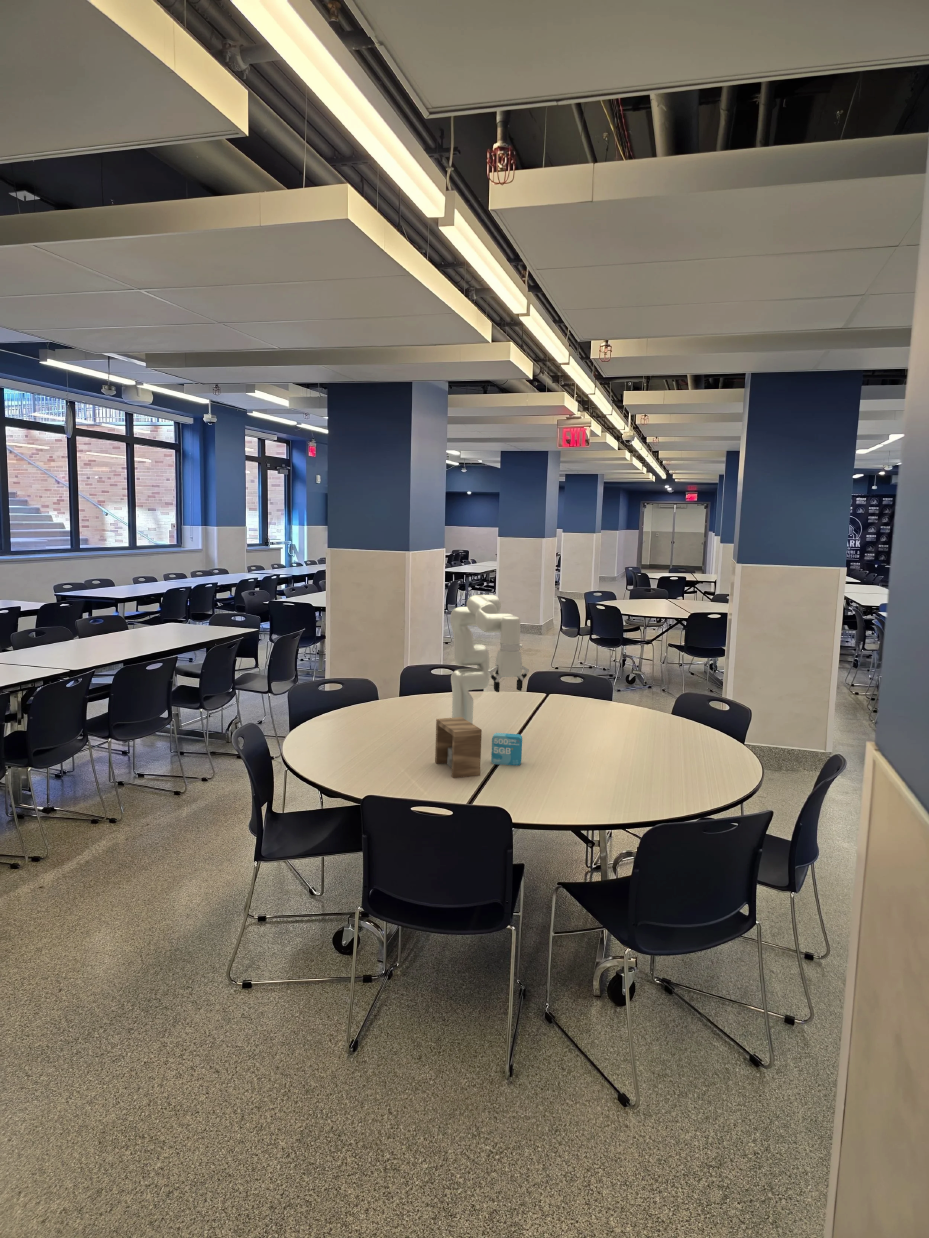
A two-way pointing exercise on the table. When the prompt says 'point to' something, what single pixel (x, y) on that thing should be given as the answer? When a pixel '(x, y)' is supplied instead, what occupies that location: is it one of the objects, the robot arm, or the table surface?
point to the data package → (506, 749)
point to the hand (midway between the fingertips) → (507, 690)
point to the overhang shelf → (458, 746)
